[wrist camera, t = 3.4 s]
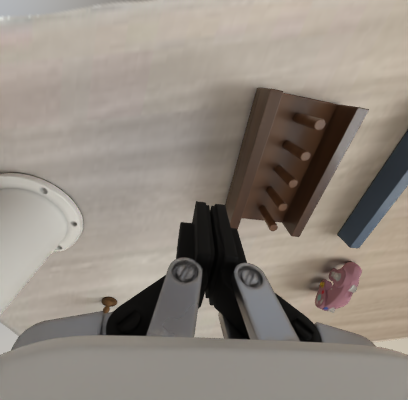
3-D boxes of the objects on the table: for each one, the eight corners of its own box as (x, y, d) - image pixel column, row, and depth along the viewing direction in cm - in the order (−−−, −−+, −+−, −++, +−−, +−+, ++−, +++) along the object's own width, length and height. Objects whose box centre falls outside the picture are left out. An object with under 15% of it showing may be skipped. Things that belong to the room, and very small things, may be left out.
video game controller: (335, 251, 37) (344, 277, 31) (361, 263, 36) (375, 292, 30) (308, 284, 41) (311, 312, 35) (330, 295, 40) (337, 326, 34)
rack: (223, 211, 29) (229, 236, 24) (256, 87, 21) (276, 88, 16) (286, 218, 30) (304, 243, 25) (340, 105, 22) (380, 111, 17)
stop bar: (337, 234, 32) (349, 247, 30) (425, 102, 22) (456, 105, 20) (345, 235, 33) (358, 248, 30) (437, 105, 23) (468, 108, 20)
